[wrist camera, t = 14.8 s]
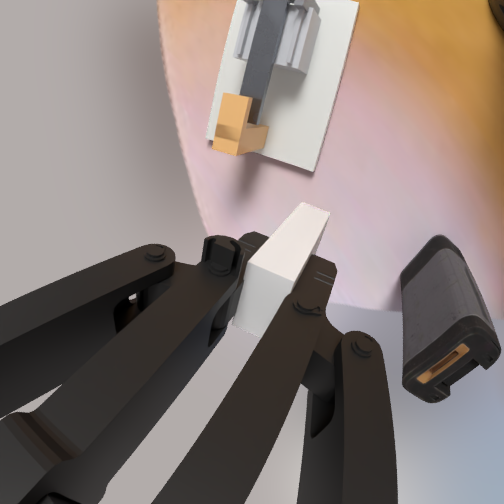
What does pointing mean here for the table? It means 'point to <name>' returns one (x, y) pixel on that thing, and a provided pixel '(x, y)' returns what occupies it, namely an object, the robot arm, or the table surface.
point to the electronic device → (443, 322)
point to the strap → (263, 55)
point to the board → (292, 74)
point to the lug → (237, 127)
